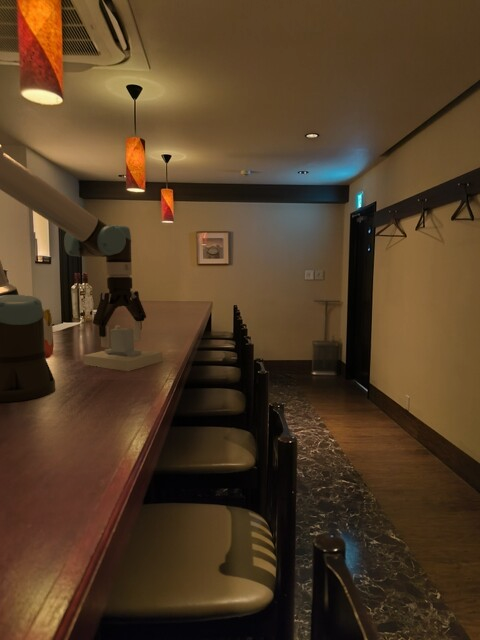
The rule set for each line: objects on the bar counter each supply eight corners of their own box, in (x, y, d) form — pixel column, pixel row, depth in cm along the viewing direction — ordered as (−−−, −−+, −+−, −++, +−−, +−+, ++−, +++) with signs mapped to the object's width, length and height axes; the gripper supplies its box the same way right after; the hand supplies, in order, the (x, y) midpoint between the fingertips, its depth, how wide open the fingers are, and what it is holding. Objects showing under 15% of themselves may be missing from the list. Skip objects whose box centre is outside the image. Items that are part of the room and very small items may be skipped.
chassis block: (128, 371, 123) (127, 361, 123) (83, 364, 133) (83, 355, 132) (162, 361, 136) (161, 352, 136) (119, 356, 146) (119, 347, 145)
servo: (132, 366, 130) (131, 327, 128) (105, 362, 136) (103, 325, 134) (141, 363, 133) (140, 326, 132) (114, 360, 139) (112, 324, 138)
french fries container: (55, 352, 154) (52, 303, 151) (49, 358, 143) (45, 305, 141) (41, 353, 152) (38, 303, 150) (34, 359, 142) (31, 305, 140)
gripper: (96, 277, 119) (99, 351, 121) (155, 276, 140) (157, 339, 143) (78, 276, 122) (81, 349, 125) (138, 276, 144) (140, 337, 146)
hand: (122, 344), depth 134 cm, fingers open, 13 cm apart
